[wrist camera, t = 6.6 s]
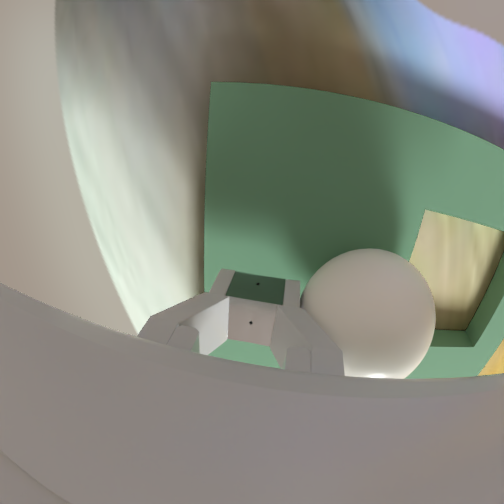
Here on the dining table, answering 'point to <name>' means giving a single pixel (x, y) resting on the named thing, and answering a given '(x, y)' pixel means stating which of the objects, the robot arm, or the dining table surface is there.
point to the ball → (373, 311)
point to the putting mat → (342, 197)
